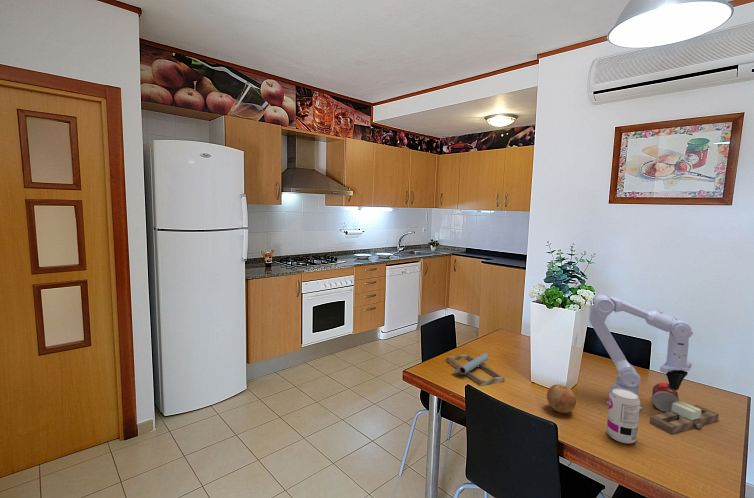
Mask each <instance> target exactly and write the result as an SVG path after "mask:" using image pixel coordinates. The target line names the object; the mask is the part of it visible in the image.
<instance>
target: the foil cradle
mask: <svg viewBox="0 0 754 498" xmlns="http://www.w3.org/2000/svg"><path fill="white" fill-rule="evenodd" d="M462 359H464V360H467V359H468V360H467V361H469V360H470V361H472V360H473V359H475V358H474V357H472V356H470V355H469V354H460V355H454V356H446V359H445V361H446V362H447V363H448V362H449V363H450V364H449V363H448V364H449V365H451V366H452V365H453V366H452V367H453V368H454V369H456V368H457V369H458V368H460V367H461V366H462V365H460V364H459V363H458V362H457V361H462ZM455 360H457V361H455ZM470 361H469V362H470ZM479 367H480V369H481V368H482V369H483V370H482V369H481V370H482V371H483V372H485V371H486V373H487V374H488V373H489V375H490V376H492V378H491V377H490V378H486V379H485V378H484V379H481V378H480V377H478V376H477V375H475V374H474V373H473V372H471V371H469V372H467V373H466V374H464V375H465V376H466V377H467V376H468V379H470V378H471V379H470V380H472V381H473V382H474V383H476V384H477V385H478V386H480V387H482V386H487V385H488V386H490V385H494V384H500V383H505V379H506V378H505V377H504V375H501V374H500V373H499V372H496V370H493V369H492V368H490V367H489V366H487V365H485V364H484V363H482V364H480V365H479ZM479 367H478V368H479Z"/></svg>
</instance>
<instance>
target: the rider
mask: <svg viewBox="0 0 754 498" xmlns="http://www.w3.org/2000/svg"><path fill="white" fill-rule="evenodd" d="M671 411H672V412H675V413H677V414H679V419H683V418H688V419H690V420H695V419H698V418H701V409H699V408H696V407H694V406H693V405H691V404H689V403H687V402H684V401H682V400H679V402H678V401H676V402H675V403H672V409H671Z"/></svg>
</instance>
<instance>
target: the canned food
mask: <svg viewBox="0 0 754 498" xmlns="http://www.w3.org/2000/svg"><path fill="white" fill-rule="evenodd" d="M651 393H652V395H651V397H652V399H651V400H652V404H653V405H654V407H655V408H656V409H658V410H660V411H661V412H663V413H666V412H669V411H670V410H671V409H672V403H675V402H676V401H678V402H679V401H680V400H679V399H680V398H679V393H678V390H674V389H671V388H670V386H669V382H668V383H667V382H658V383H656V384H654V386H653V387H652V392H651Z"/></svg>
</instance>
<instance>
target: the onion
mask: <svg viewBox="0 0 754 498" xmlns="http://www.w3.org/2000/svg"><path fill="white" fill-rule="evenodd" d="M576 399H577V398H576V395H575V393H574V391H573V390H572V389H571V388H570V387H568V386H567V385H565V384H561V383H560V384H559V383H558V384H553V385H551V386H550V387H549V388H548V390H547V392H546V400H547V403H548V405H549V406H550V407H551V408H552V409H553V410H554V411H555V412H558V413H561V414H568V413H571V412H572V411H573V410H575V408H576V404H577V400H576Z"/></svg>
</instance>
